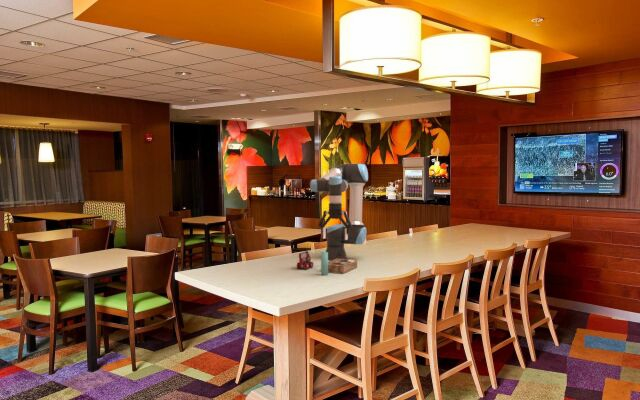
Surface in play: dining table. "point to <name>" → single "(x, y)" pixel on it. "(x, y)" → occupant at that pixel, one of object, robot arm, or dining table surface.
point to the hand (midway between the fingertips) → (335, 239)
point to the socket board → (341, 265)
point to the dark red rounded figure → (304, 261)
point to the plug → (324, 263)
